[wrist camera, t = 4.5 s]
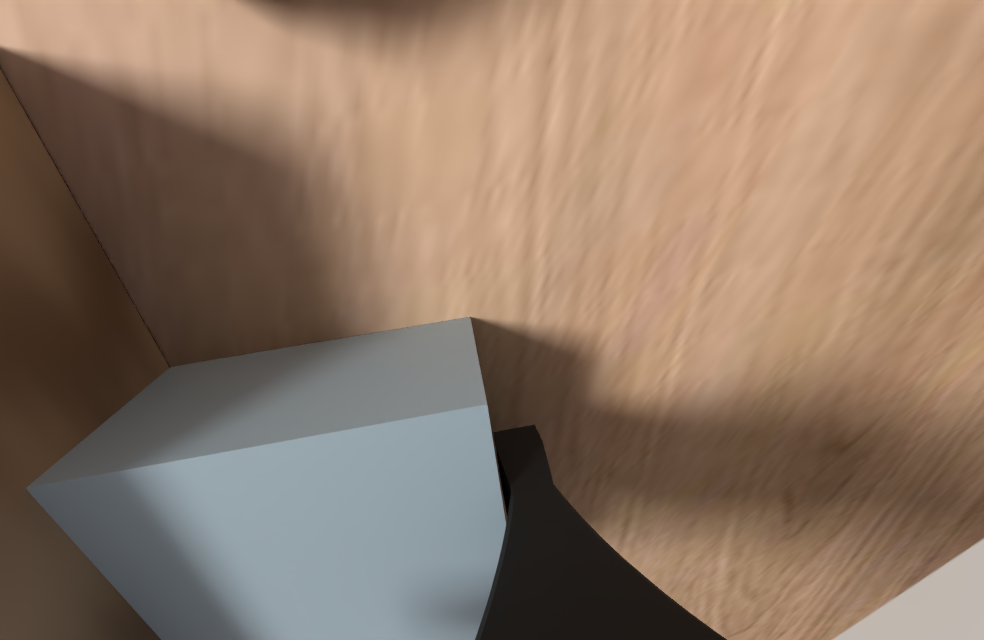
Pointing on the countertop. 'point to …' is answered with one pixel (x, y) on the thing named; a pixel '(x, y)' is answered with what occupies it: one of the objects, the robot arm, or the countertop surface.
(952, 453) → the countertop surface
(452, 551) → the grey block
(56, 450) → the fence board
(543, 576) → the robot arm
